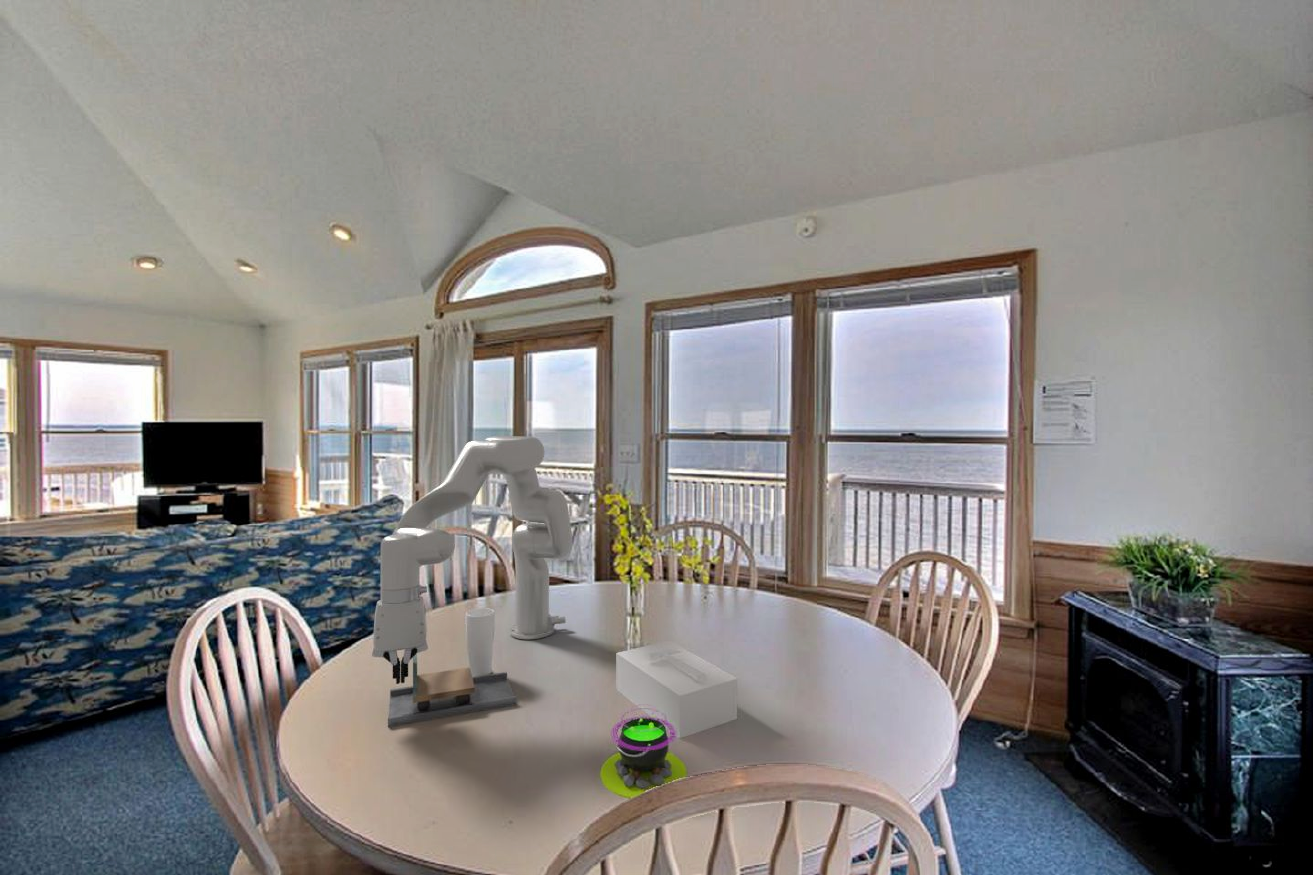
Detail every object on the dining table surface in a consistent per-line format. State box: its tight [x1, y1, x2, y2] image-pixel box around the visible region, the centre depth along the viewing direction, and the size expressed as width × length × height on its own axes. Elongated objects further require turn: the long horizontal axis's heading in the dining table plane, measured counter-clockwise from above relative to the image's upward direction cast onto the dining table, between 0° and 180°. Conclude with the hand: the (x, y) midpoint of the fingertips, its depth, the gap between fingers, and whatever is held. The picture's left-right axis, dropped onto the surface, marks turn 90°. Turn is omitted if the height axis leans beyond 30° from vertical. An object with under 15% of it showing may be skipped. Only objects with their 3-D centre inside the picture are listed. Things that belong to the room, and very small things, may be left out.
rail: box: [387, 671, 517, 728], centre depth 127 cm, size 25×14×2 cm, turn 113°
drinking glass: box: [464, 607, 496, 677], centre depth 141 cm, size 7×7×15 cm
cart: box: [412, 653, 475, 712], centre depth 126 cm, size 12×11×9 cm
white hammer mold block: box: [615, 640, 738, 739], centre depth 127 cm, size 14×25×11 cm, turn 33°
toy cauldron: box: [599, 704, 688, 799], centre depth 101 cm, size 15×15×11 cm
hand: (400, 680), depth 123 cm, fingers closed
